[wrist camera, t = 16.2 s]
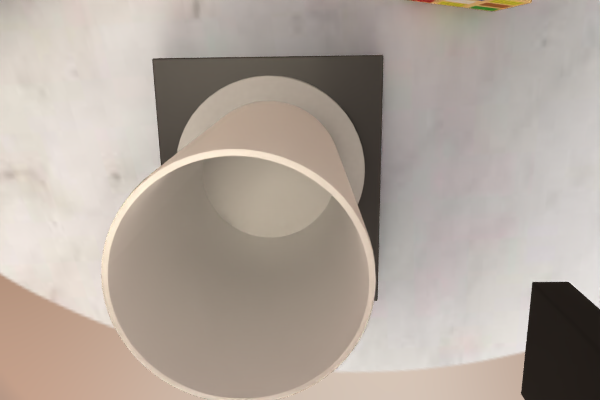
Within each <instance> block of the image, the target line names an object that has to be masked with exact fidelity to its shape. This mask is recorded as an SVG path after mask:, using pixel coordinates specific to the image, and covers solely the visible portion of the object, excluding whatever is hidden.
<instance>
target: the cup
mask: <svg viewBox="0 0 600 400" xmlns="http://www.w3.org/2000/svg"><path fill="white" fill-rule="evenodd" d="M101 279H102V290H103V295H104V300H105V304H106V307H107V310H108V314H109V316H110V318H111V321H112V323H113V325H114V327H115V329H116V331H117V333H118V334H119V336H120V338H121V339H122V341H123V342H124V344H125V345H126V347H127V348H128V349H129V350H130V352H131V353H132V354H133V355H134V357H135V358H136V359H138V361H139V362H140V363H141V364H142V365H143V366H145V367H146V368H147V369H148V370H149V371H150V372H152V373H153V374H155V375H156V376H157V377H159V378H160V379H162V380H163V381H165V382H166V383H168V384H170V385H171V386H173V387H175V388H177V389H180V390H182V391H184V392H186V393H189V394H191V395H194V396H197V397H200V398H204V399H207V400H277V399H281V398H285V397H288V396H290V395H294V394H296V393H298V392H301V391H303V390H305V389H307V388H309V387H311V386H313V385H314V384H316V383H318V382H319V381H321V380H322V379H324V378H325V377H327V376H328V375H329V374H330V373H332V372H333V371H334V370H335V369H336V368H337V367H338V366H339V365H340V364H341V363H342V362H343V361H344V360H345V359H346V358H347V357H348V356H349V354H350V353H351V352H352V351H353V349H354V348H355V346H356V345H357V343H358V342H359V340H360V338H361V336H362V334H363V332H364V330H365V328H366V326H367V323H368V321H369V318H370V315H371V311H372V308H373V303H374V297H375V286H376V274H375V260H374V254H373V249H372V245H371V241H370V238H369V235H368V232H367V230H366V227H365V224H364V221H363V219H362V216H361V213H360V210H359V208H358V205H357V202H356V200H355V197H354V194H353V192H352V189H351V186H350V183H349V181H348V178H347V175H346V173H345V170H344V167H343V165H342V162H341V159H340V157H339V154H338V151H337V149H336V146H335V143H334V141H333V139H332V137H331V136H330V134H329V133H328V131H327V130H326V129H325V127H324V126H323V125H322V124H321V123H320V122H319V121H318V120H317V119H316V118H315V117H314V116H312V115H311V114H309V113H308V112H306V111H305V110H303V109H301V108H299V107H296V106H294V105H291V104H288V103H284V102H278V101H259V102H253V103H249V104H246V105H243V106H241V107H238V108H236V109H234V110H233V111H231V112H229V113H228V114H226V115H225V116H224V117H223V118H221V119H220V120H219V121H217V122H216V123H215V124H214V125H212V126H211V127H210V128H209V129H207V130H206V131H205V132H203V133H202V134H201V135H200V136H198V137H197V138H196V139H194V140H193V141H192V142H191V143H189V144H188V145H187V146H186V147H184V148H183V149H182V150H180V151H179V152H178V153H177V154H175V155H174V156H173V157H172V158H170V159H169V160H168V161H166V162H165V163H164V164H163V165H161V166H160V167H159V168H158V169H156V170H155V171H154V172H153V173H152V174H150V175H149V176H148V177H147V178H145V179H144V180H143V181H142V182H141V183H140V184H139V185H138V186H137V187H136V188H135V189H134V190H133V192H132V193H131V194H130V195H129V197H128V198H127V199H126V201H125V202H124V204H123V205H122V207H121V208H120V210H119V211H118V213H117V215H116V216H115V219H114V221H113V223H112V225H111V227H110V229H109V232H108V235H107V238H106V241H105V246H104V250H103V256H102V266H101Z"/></svg>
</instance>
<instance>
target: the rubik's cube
mask: <svg viewBox="0 0 600 400" xmlns="http://www.w3.org/2000/svg"><path fill="white" fill-rule="evenodd" d="M409 1H417V2H425V3H434V4H440V5H448V6H455V7H464V8H471V9H478V10H486V11H497V10H502V9H506V8H510V7H515V6H519V5H524V4H528V3H531V2H532V0H409Z"/></svg>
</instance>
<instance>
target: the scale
mask: <svg viewBox="0 0 600 400" xmlns="http://www.w3.org/2000/svg"><path fill="white" fill-rule="evenodd" d="M152 61H153V73H154V85H155V98H156V110H157V122H158V134H159V146H160V159H161V165H163V164H164V163H165V162H166V161H168V160H169V159H170V158H172V157H173V156H174V155H175V154H177V153H178V152H179V151H180V150H182V149H183V148H184V147H186V146H187V145H188V144H189V143H191V142H192V141H193V140H194V139H196V138H197V137H198V136H200V135H201V134H202V133H203V132H205V131H206V130H207V129H209V128H210V127H211V126H212V125H214V124H215V123H216V122H217V121H219V120H220V119H221V118H223V117H224V116H225V115H226V114H228V113H229V112H231V111H233V110H234V109H236V108H238V107H241V106H243V105H246V104H249V103H253V102H259V101H278V102H284V103H288V104H291V105H294V106H296V107H299V108H301V109H303V110H305V111H306V112H308V113H309V114H311V115H312V116H314V117H315V118H316V119H317V120H318V121H319V122H320V123H321V124H322V125H323V126H324V127H325V129H326V130H327V131H328V133H329V134H330V136H331V137H332V139H333V141H334V143H335V146H336V149H337V151H338V154H339V157H340V159H341V162H342V165H343V167H344V170H345V173H346V175H347V178H348V181H349V183H350V186H351V189H352V192H353V194H354V197H355V200H356V202H357V205H358V208H359V210H360V213H361V216H362V219H363V221H364V224H365V227H366V230H367V232H368V235H369V238H370V241H371V245H372V249H373V254H374V260H375V274H376V286H375V297H374V301H377V298H378V257H379V216H380V174H381V133H382V92H383V55H356V56H289V57H222V58H158V59H153V60H152Z"/></svg>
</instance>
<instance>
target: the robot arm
mask: <svg viewBox="0 0 600 400" xmlns="http://www.w3.org/2000/svg"><path fill="white" fill-rule="evenodd" d="M521 394H522V396H523V397H524V399H525V400H600V309H599V308H598V307H596V306H595V305H594V304H593V303H592V302H591V301H590V300H589V299H587V298H586V297H585V296H584V295H583V294H582V293H581V292H579V291H578V290H577V289H576V288H575V287H574V286H573V285H571V284H570V283H569V282H533V283H532V292H531V302H530V312H529V322H528V332H527V342H526V351H525V361H524V371H523V381H522V391H521Z"/></svg>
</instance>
